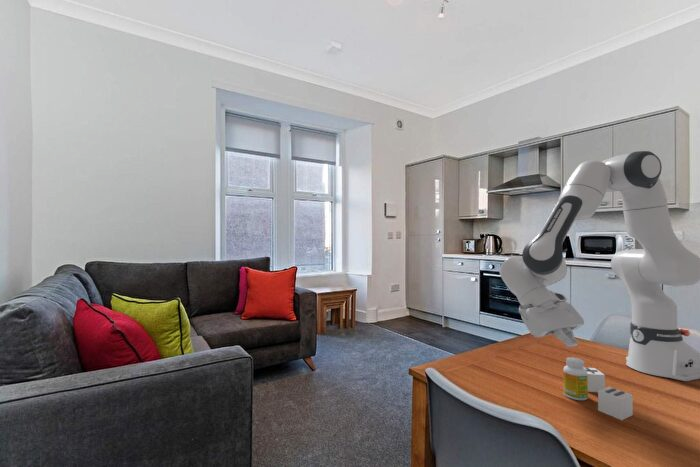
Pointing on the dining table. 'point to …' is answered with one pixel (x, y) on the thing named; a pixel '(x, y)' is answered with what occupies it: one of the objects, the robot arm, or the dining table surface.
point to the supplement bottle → (575, 379)
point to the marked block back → (595, 380)
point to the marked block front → (615, 403)
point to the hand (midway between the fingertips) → (573, 345)
